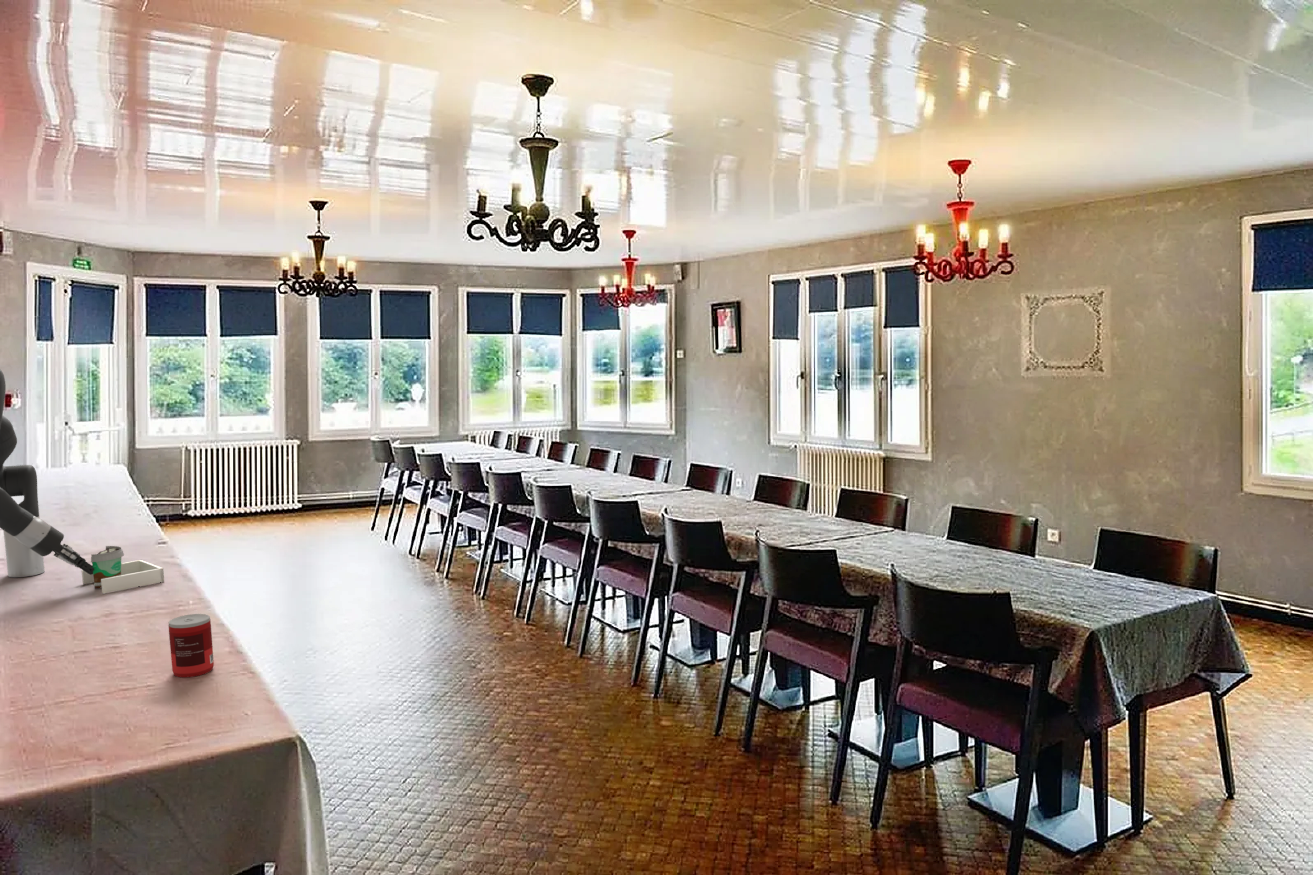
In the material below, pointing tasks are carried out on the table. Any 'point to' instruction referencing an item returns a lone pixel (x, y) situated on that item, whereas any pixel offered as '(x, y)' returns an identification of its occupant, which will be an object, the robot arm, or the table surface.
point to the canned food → (191, 645)
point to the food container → (106, 564)
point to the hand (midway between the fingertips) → (93, 571)
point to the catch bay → (129, 576)
